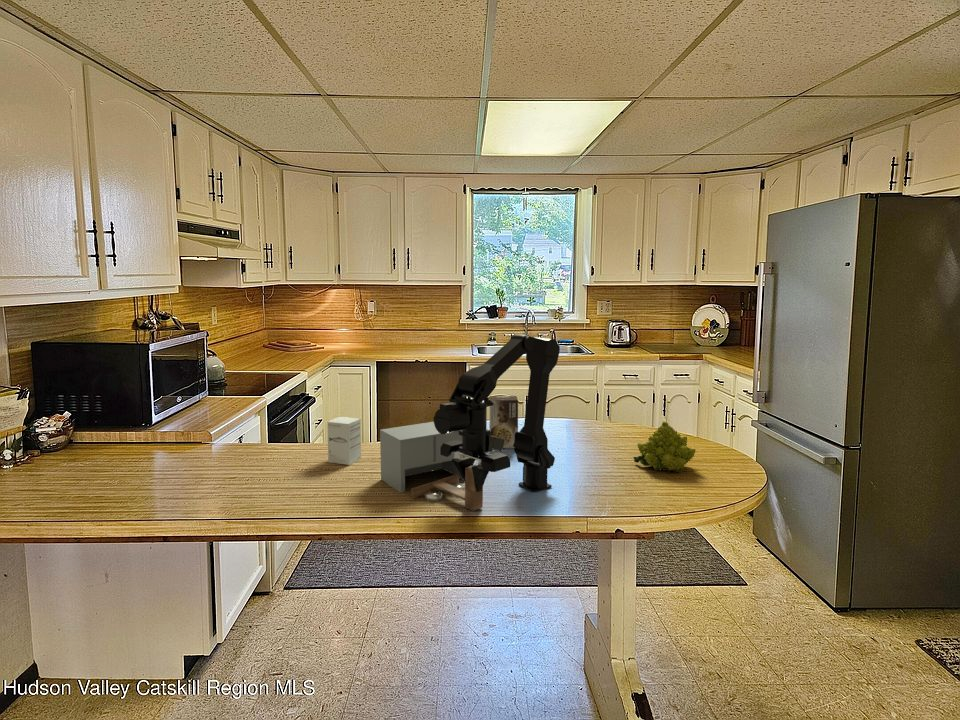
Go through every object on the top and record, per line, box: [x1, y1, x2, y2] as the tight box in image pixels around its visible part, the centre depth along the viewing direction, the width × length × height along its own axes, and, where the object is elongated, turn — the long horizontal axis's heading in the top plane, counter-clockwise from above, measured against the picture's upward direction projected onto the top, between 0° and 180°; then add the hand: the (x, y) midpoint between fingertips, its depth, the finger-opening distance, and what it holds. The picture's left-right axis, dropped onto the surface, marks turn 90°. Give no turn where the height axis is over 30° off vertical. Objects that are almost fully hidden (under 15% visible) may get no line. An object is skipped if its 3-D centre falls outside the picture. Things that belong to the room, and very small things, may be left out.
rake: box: [410, 464, 484, 512], centre depth 152 cm, size 16×15×10 cm
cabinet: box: [379, 421, 463, 494], centre depth 168 cm, size 12×20×14 cm, turn 124°
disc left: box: [424, 490, 443, 503], centre depth 155 cm, size 4×4×2 cm
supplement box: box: [327, 416, 362, 466], centre depth 183 cm, size 7×7×13 cm
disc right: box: [450, 482, 465, 491], centre depth 160 cm, size 4×4×2 cm
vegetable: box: [632, 421, 697, 473], centre depth 179 cm, size 15×16×15 cm
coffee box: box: [488, 395, 519, 449], centre depth 200 cm, size 9×6×16 cm
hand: (474, 489), depth 148 cm, fingers closed on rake, 3 cm apart
